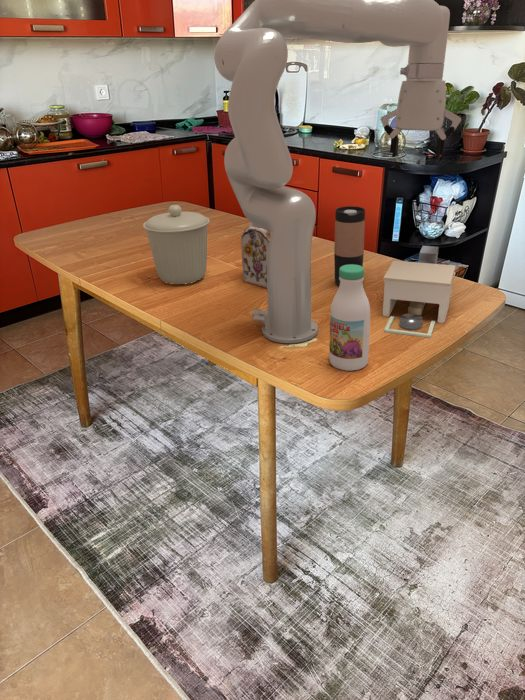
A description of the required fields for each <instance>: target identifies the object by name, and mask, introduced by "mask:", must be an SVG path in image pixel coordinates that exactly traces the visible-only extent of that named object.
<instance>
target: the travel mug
mask: <svg viewBox="0 0 525 700" xmlns="http://www.w3.org/2000/svg"><path fill="white" fill-rule="evenodd" d="M334 213H335V214H334V215H335V220H334V221H335V222H334V252H333V253H334V254H333V255H334V256H333V258H334V261H333V263H334V285H335V286H336V287H338V288H339V285H340V280H339V269H340V267H341V266H344V265H349V264H354V265H360V266H362V267H363V268H364V255H365V254H364V252H365V226H366V225H365V221H366V209H365V208H364V207H361V206H349V205H348V206H340V207H338V208H336V209H335V212H334Z"/></svg>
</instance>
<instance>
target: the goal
mask: <svg viewBox="0 0 525 700" xmlns="http://www.w3.org/2000/svg"><path fill="white" fill-rule="evenodd" d="M394 319H395V316H392V315H391V316H389V318H388V321H387V323H386V324H385V327H384V329H383V332H384V333H391V334H397V335H398V334H400V335H406V336H413V337H423V338H429V339H431V338H432V334H433V330H434V327H435V325H436V320H431V321H430V325H429V327H428V331H427V333H425V332H419V331H418V332H416V331H411V330H401V329H395V328H394V329H393V328H391V326H392V324H393V321H394Z"/></svg>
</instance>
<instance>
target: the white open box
mask: <svg viewBox="0 0 525 700" xmlns="http://www.w3.org/2000/svg"><path fill="white" fill-rule="evenodd" d="M455 271H456V265H453V264H444V263H443V264H441V263H437V264H430V263H419V261H418V262H416V261H407V260H406V261H403V260H393V261H392V262H391V264H390V266H389V267H388V269H387V270H386V273H385V274H384V276H383V277H382V278H383V281H384V289H383V301H382V302H383V303H382V304H383V305H382V317H389V318H390V317H391V316H390V315H391V313H392V311H393V310H394V307H395V305H396V303H397V301H408V302H411V301H415V302H425V304H437V305H438V306H439V307H438V315H437V323H439V324H440V323H441V324H445V323H446V322H445V321H446V319H447V315H448V311H449V307H450V303H451V296H452V295H451V294H452V286H453V277H454V275H455Z"/></svg>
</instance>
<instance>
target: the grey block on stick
mask: <svg viewBox="0 0 525 700" xmlns="http://www.w3.org/2000/svg"><path fill="white" fill-rule="evenodd" d="M438 255H439V246H430V245H422V247H421V249H420V251H419V255H418V263H430V264H438ZM425 305H426V303H425V302H415V301H410V303H409V306H408V308H407V314H416V315H419V316H422V313H423V311H424V308H425Z"/></svg>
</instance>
